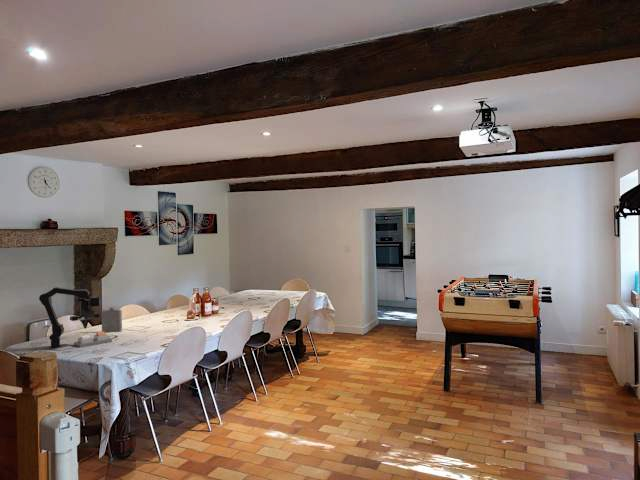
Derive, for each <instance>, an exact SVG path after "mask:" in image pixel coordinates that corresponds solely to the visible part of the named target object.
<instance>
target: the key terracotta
mask: <svg viewBox="0 0 640 480" xmlns="http://www.w3.org/2000/svg"><path fill="white" fill-rule="evenodd" d="M106 334H107V332H102V331H96V332H95V335H96V336H104V335H106Z"/></svg>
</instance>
